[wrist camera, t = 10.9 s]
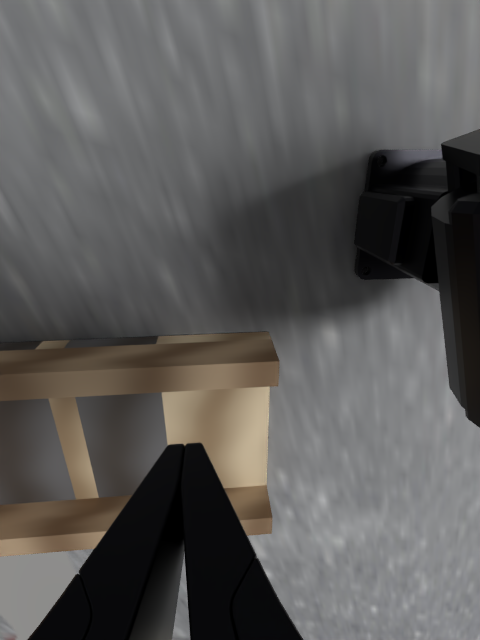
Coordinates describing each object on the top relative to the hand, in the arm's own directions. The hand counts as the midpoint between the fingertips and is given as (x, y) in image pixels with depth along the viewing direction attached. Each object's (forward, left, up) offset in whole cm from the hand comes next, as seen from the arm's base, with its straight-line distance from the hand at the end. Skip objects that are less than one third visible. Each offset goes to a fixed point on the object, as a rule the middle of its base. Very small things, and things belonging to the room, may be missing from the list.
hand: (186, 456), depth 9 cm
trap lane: (+10, +9, -12) cm, 18 cm away
